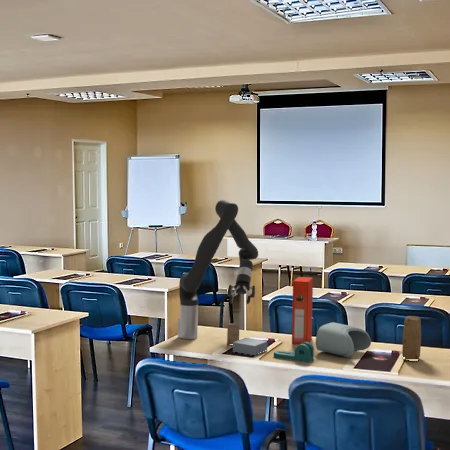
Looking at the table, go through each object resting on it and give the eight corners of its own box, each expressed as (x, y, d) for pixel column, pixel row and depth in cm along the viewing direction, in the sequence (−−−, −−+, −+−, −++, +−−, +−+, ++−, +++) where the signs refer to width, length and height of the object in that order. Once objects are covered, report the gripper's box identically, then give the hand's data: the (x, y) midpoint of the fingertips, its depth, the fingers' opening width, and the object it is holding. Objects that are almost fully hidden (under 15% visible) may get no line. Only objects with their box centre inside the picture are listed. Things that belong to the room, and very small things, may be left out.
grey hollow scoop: (335, 345, 324) (337, 320, 323) (370, 353, 314) (372, 327, 312) (314, 353, 307) (316, 327, 305) (351, 362, 296) (353, 335, 295)
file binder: (291, 344, 326) (293, 280, 324) (296, 336, 342) (298, 276, 341) (307, 345, 324) (309, 281, 322) (311, 338, 340) (313, 277, 339)
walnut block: (229, 342, 326) (229, 323, 325) (239, 343, 324) (239, 323, 324) (227, 345, 321) (227, 325, 320) (236, 345, 320) (237, 325, 319)
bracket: (313, 359, 297) (313, 342, 297) (308, 363, 291) (309, 345, 291) (276, 354, 305) (277, 338, 305) (271, 357, 299) (271, 340, 299)
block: (417, 363, 295) (419, 319, 294) (400, 361, 298) (402, 317, 297) (421, 357, 304) (423, 315, 303) (405, 355, 308) (407, 314, 307)
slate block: (232, 352, 307) (233, 342, 307) (245, 347, 317) (245, 337, 317) (254, 356, 301) (255, 345, 301) (267, 351, 311) (267, 341, 311)
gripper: (229, 272, 342) (224, 298, 331) (256, 273, 339) (252, 299, 328) (232, 281, 347) (227, 306, 337) (258, 282, 344) (253, 307, 334)
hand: (239, 302), depth 333 cm, fingers open, 8 cm apart
